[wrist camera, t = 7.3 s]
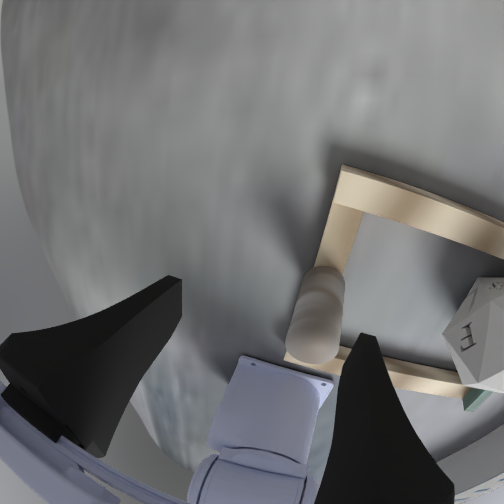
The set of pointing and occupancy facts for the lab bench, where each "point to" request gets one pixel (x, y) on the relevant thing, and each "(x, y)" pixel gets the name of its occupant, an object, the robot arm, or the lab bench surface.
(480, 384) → the die
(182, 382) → the lab bench surface
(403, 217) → the tan frame
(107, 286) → the lab bench surface
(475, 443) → the long grey block
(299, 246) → the lab bench surface
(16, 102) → the lab bench surface
